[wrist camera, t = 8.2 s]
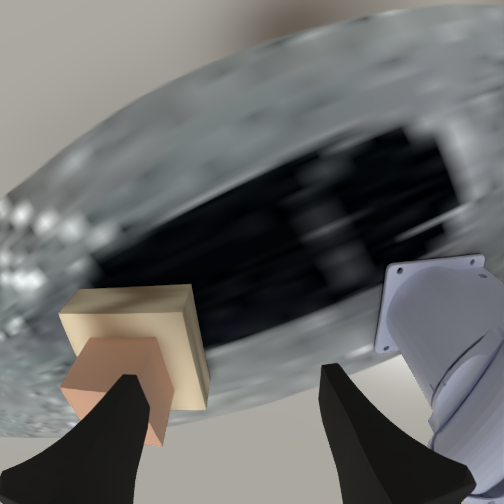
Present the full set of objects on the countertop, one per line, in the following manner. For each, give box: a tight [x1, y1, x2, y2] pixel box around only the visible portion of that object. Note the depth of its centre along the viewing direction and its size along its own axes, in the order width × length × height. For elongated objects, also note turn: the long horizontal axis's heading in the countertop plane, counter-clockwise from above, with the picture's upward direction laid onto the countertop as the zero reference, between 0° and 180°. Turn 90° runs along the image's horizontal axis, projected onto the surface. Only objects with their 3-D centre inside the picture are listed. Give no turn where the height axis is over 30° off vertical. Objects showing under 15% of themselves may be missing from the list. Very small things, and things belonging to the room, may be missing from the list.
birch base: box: [59, 284, 210, 410], centre depth 21 cm, size 9×9×4 cm
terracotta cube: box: [60, 337, 174, 446], centre depth 17 cm, size 5×5×5 cm
